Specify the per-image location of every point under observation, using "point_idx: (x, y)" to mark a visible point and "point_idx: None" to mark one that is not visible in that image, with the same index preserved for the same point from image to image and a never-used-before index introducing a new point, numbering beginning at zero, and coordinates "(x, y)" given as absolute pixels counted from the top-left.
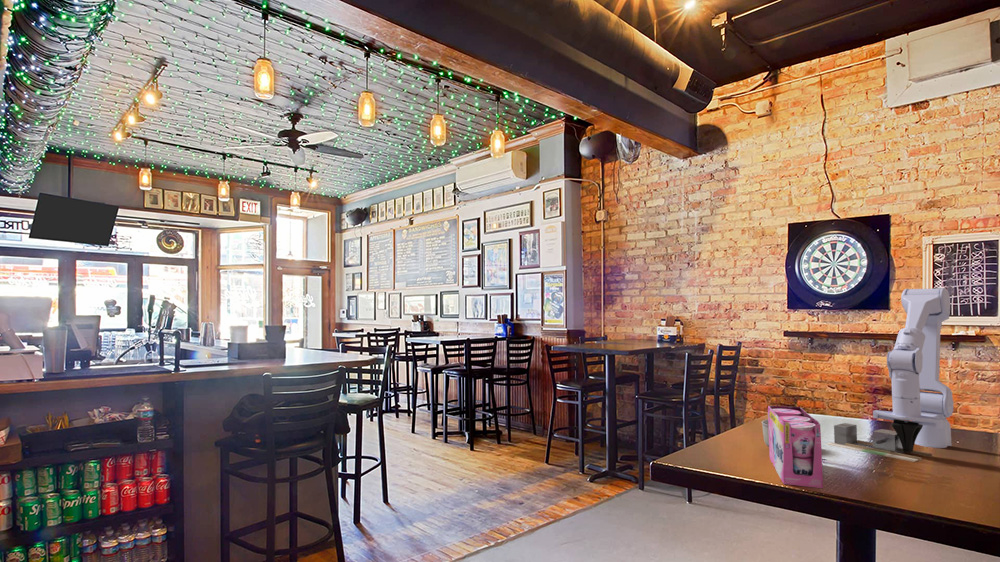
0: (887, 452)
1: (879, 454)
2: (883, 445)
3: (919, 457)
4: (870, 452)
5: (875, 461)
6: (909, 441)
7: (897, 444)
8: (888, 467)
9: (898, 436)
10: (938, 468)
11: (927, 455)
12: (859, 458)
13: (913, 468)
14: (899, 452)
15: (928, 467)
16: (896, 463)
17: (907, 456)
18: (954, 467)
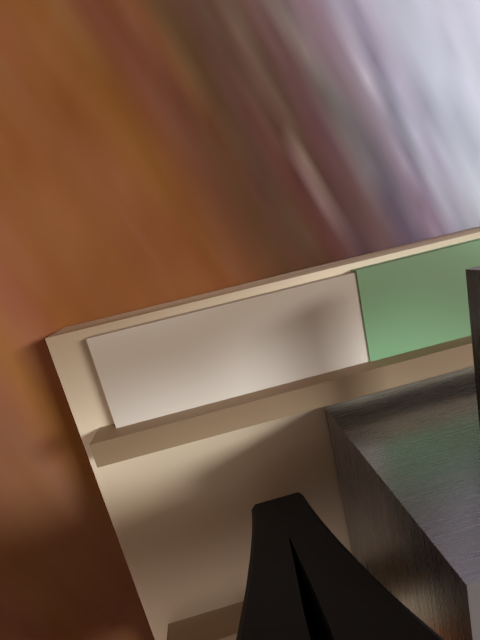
0: (375, 362)
1: (388, 262)
2: (468, 411)
3: (109, 455)
4: (466, 242)
5: (351, 184)
6: (251, 615)
7: (376, 517)
8: (172, 88)
9: (418, 618)
10: (28, 483)
11: (196, 626)
12: (468, 142)
13: (82, 286)
14: (342, 487)
15: (72, 437)
16: None
17: (205, 409)
18: (21, 615)
